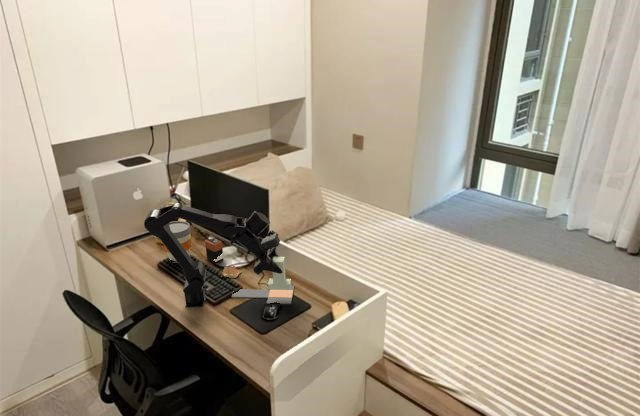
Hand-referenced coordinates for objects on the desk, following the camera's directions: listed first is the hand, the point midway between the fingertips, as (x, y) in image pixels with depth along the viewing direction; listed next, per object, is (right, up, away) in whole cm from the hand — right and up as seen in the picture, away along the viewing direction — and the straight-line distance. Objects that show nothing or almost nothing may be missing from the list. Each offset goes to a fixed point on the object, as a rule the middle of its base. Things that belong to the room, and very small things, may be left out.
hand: (282, 269), depth 164 cm
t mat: (-9, -10, +8) cm, 16 cm away
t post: (-1, -6, +3) cm, 7 cm away
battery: (-32, 0, +33) cm, 46 cm away
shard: (-25, -5, +23) cm, 34 cm away
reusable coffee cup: (-49, +1, +35) cm, 60 cm away
